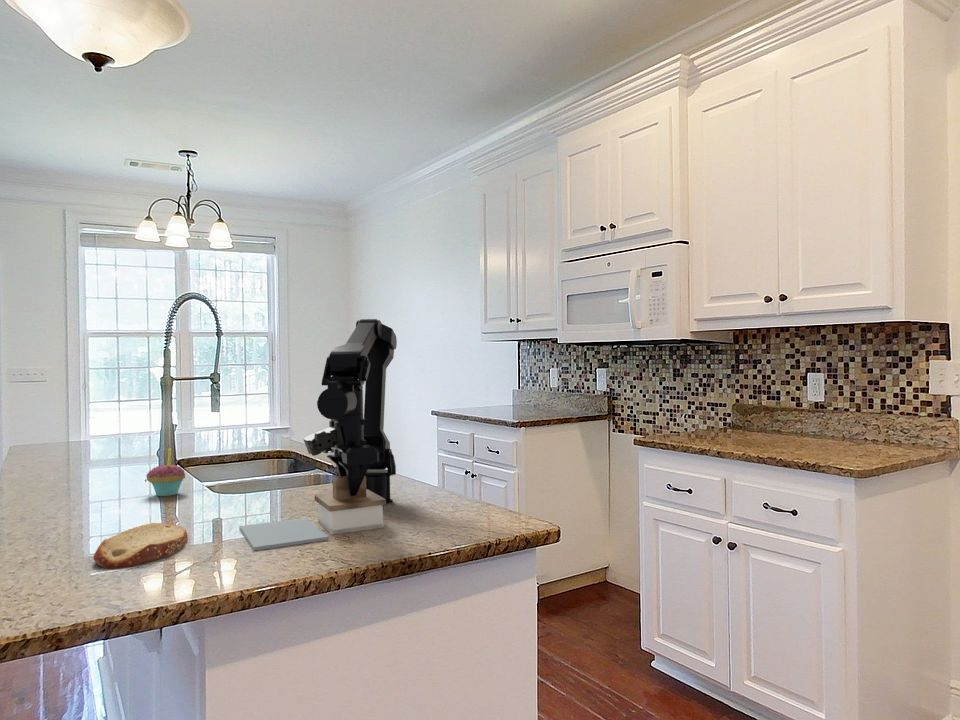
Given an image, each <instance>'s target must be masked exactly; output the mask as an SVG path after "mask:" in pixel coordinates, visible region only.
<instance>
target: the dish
mask: <svg viewBox="0 0 960 720" xmlns="http://www.w3.org/2000/svg"><path fill="white" fill-rule="evenodd" d="M383 508H384V505H379V506H371V507H363V508H355V509H347V510H338V511H328V510H327V509H326V508H324V507H323V506H322V505H320V504H319V503H318V502H317V523H318V524H319V525H320V526H321V527H322V528H324V529H325V530H326V532H328V533H329V534H330V535H332V536H333V535H341V534H347V533H354V532H355V533H356V532H360V531H369V530H377V529H383V528H384V509H383Z"/></svg>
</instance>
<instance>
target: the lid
mask: <svg viewBox="0 0 960 720" xmlns="http://www.w3.org/2000/svg"><path fill="white" fill-rule="evenodd" d="M314 501H315V502H316V503H317V504H318V503H319V504H320V505H322V506H323V507H324V508H326V509H327V510H328V511H338V510H347V509H355V508H363V507H371V506H379V505H383V506H385V505H387V503H386V499H384V498H383V497H381V496H379V495H377V494H375V493H374V492H372V491H370V490H368V489H366V476H364V479H363V481H362V483H361V485H360V488H359V490H358V492H357V495H356V496H351V495H350V492H349V486H348V480H347V476H341V477H339V476H333V477H332V492H330V493H322V494H315V495H314Z"/></svg>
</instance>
